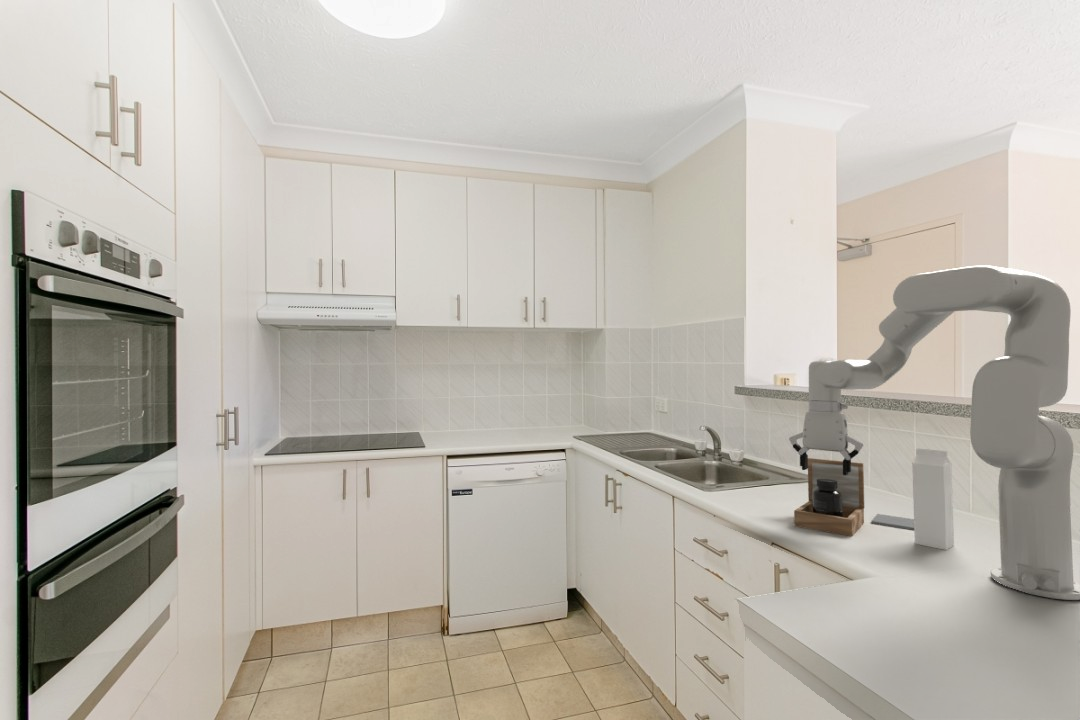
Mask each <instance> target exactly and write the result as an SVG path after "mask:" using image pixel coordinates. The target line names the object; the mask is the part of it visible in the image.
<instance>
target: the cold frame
mask: <svg viewBox="0 0 1080 720" xmlns="http://www.w3.org/2000/svg"><path fill="white" fill-rule="evenodd" d="M817 479H831V480H836V481H837V486H838V488H837V491H839V492H840V493H841V494H842V507H843V517H838V516H832V515H825V514H819V513H813V491H814V490H815V489H817V488H818V487H817V486H816V484H817ZM864 480H865V479H864V463H863V462H853V461H851V472H849V473H848V475H843V460H833V459H825V458H824V459H822V458H811V457H808V469H807V487H808V488H807V489H808V498H807V499H808V501H807V502H805V503H803V504H802V505H800V506H799V507H797V508H796V509H795V510H794V511H793V513H794V517H793V519H794V520H793V521H794V527H798V528H802V529H803V528H804V529H808V530H809V529H810V530H814V531H821V532H826V533H831V534H837V535H842V536H843V535H844V536H847V537H853V536H854V535H855V534H856V533H857V531H858V530H859V529H861V528H862V526H863V525H864V524H863V523H865V511H864V509H865V483H864V482H865V481H864Z"/></svg>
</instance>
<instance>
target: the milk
mask: <svg viewBox="0 0 1080 720" xmlns="http://www.w3.org/2000/svg"><path fill="white" fill-rule="evenodd" d="M915 453H916V454H915V457H914V459H913V461H912V463H911V464H912V466H911V467H912V495H913V519H914V530H913V531H914V533H913V534H914V544H916V545H921V546H924V547H929V548H934V549H940V550H943V551H947V550H949V549H950V548H952V547H954V546H955V535H954V533H955V532H954V531H955V529H954V507H953V506H954V505H953V503H954V501H953V498H954V497H953V481H952V480H953V477H952V476H953V475H952V471H953V469H952V462H951V461H950V460H949V458H948V451H946V450H941V449H940V450H939V449H929V448H916V449H915Z"/></svg>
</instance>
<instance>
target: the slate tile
mask: <svg viewBox="0 0 1080 720" xmlns="http://www.w3.org/2000/svg"><path fill="white" fill-rule="evenodd" d="M870 521H871V522H870V523H871V524H873V523H874V524H875V525H879V524H880V525H879V526H885V525H887V526H888V527H891V528H892V527H893V528H898V529H899V528H900V529H904V530H905V529H906V530H911V531H912V530H913V531H914V518H908V517H901V516H896V515H895V516H894V515H887V514H881V513H876V515H875V516H874V517H873V519H872V520H870ZM887 526H886V527H887Z"/></svg>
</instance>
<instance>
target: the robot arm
mask: <svg viewBox="0 0 1080 720" xmlns="http://www.w3.org/2000/svg"><path fill="white" fill-rule="evenodd" d="M892 302H893V305H894V306H895V309H893V311H891V312H890V313H889V314H888V315H887V316H886V317H885V318H884V319H883V320H881V321H880V323H879V325H878V331H879V332H880V335H881V336H882V337H883V338H884V339H883V342H882V344H881V345H880V346H879V348H878V349H877V350H876V351H874V353H872V354H871V355H870V356H869V357H868V358H866V359H840V360H833V361H832V360H820V361H819V360H816V361H812V362H810V363H809V365H808V411H806V412H805V415H804V420H803V421H804V422H803V429H802V432H801V433H798V434H795V435H792V436H790V437H789V438H788V439H789V442H790V444H791V445H792V448H793V449H794V450H795V451H796V452H797V454H798V455H799V466H800V467H801V470H802V471H805V470H808V458H809V455H808V451H809V450H816V451H817V450H818V451H826V452H837V453H840V455H842V457H844V459H843V460H842V461H843V475H848V473H849V472H851V462H852V459H853V458H854V457H856V456H857V455H858V454H860V452H861V450H862V449H863V447H864V443H863V442H860V441H859V440H857V439H855V438H854V437H851V436H850V435H849V433H848V431H849V430H848V424H847V417H846V414H845V412H844V413H843V412H842V411H843V410H848V407H849V406H848V404H847V403H844V402H842V390H847V391H848V390H853V391H854V390H873V389H876V388H879V387H880V386H882V385H884V384H885V383H886V382H888V381H889V380H890V379H892V378H893V377H894V376H895V375H896V374H897V373H898V372H899V371H901V370H902V368H904V366H905V365H906V363H907V361H908V359H909V358H910V356H911V354H912V351H913V348H914V347H915V346H916V345H917V344H918V343H919V342H920V341H922V340H923V339H925V337H926V336H928V335H929V334H930V333H931V332H932V331H934V330H935V329H936V328H937V327H938V326H939V325H940V324H942V323H943V322H944V321H946V319H947V318H949V317H950V316H951V315H952V314H953V313H955V312H962V311H963V312H964V311H965V312H966V311H983V312H990V313H991V312H992V313H1001V314H1002V313H1004V314H1007V315H1009V316H1010V321H1009V324H1008V325H1007V328H1006V331H1005V336H1004V353H1003V356H999V357H996V358H993V359H991V360H989V361H987V362H986V363H985V364H984V365H982V366H981V367H980V368H979V370H978V371H977V373H976V374H975V377H974V379H973V383H972V389H971V404H970V405H971V407H970V408H971V410H970V427H969V429H970V430H969V433H970V434H969V436H970V443H971V446H972V449H973V451H974V452H975V454H976V456H978V458H979V459H980V460H982V461H983V462H985V463H986V464H988V465H990V466H991V467H994V468H999V469H1000V470H999V476H998V490H997V491H998V522H999V544H1000V547H999V548H1000V567H996V568H993V569H991V570H990V577H992V578H993V579H995V580H996V581H998V582H1000V583H1001V584H1003V585H1002V586H1004V585H1006V586H1008V587H1007V588H1009V587H1010V588H1009V589H1011V588H1013V589H1012V590H1014V589H1016V590H1015V591H1017V590H1019V591H1018V592H1021V591H1022V592H1021V593H1024V592H1025V594H1029V595H1033V596H1038V597H1042V598H1048V599H1054V600H1063V601H1079V600H1080V583H1078V582H1076V581H1074V564H1073V544H1072V543H1073V541H1072V539H1073V538H1072V518H1071V517H1072V516H1071V515H1072V513H1071V474H1072V473H1071V472H1072V466H1073V459H1074V458H1073V457H1074V443H1073V439H1072V436H1071V434H1070V432H1069V431H1068V430H1067V428H1066V427H1064V426H1063V424H1061V423H1059V422H1058V421H1056V420H1055V419H1053V418H1049V417H1047V416H1043V415H1039V412H1040V408H1046V407H1049V406H1050V407H1051V406H1054V405H1055V404H1057V403H1059V402H1060V401H1062V400H1063V398H1064V397H1065V396H1066V394H1067V390H1068V382H1069V380H1068V379H1069V357H1070V356H1069V355H1070V326H1071V303H1070V299H1069V297H1068V294H1067V293H1066V291H1065V290H1064V289H1063V287H1061V285H1059V284H1058V283H1057V282H1055V281H1054V280H1052V279H1050V278H1049V277H1048V278H1047V277H1045V276H1043V275H1040V274H1036V273H1033V272H1029V271H1024V270H1019V269H1016V268H1015V269H1014V268H1007V267H1006V268H1005V267H999V266H994V265H973V266H972V265H971V266H964V267H959V268H952V269H951V268H950V269H945V270H937V271H933V272H932V271H931V272H924V273H917V274H913V275H911V276H908V277H906V278H905V279H902V281H900V283H898V284H897V286H896V287H895V289H894V291H893V295H892ZM799 439H802V447H801V446H800V444H799V443H798V441H797V440H799ZM849 443H850V444H851V445H853V446H854V449H853V450H852V451H849V450H848V448H849ZM992 578H991V579H992ZM993 579H992V580H993ZM996 581H995V582H996ZM1001 584H1000V585H1001ZM1006 586H1005V587H1006Z"/></svg>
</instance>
